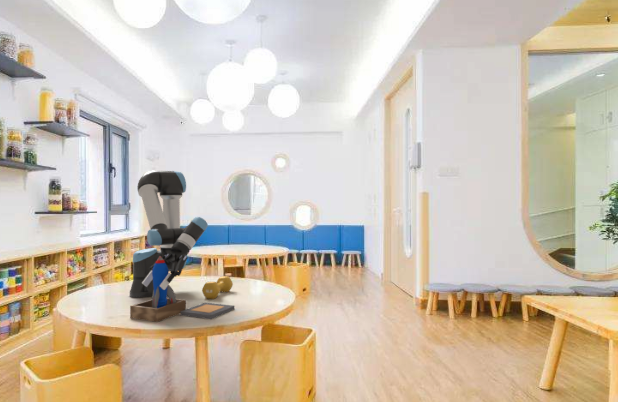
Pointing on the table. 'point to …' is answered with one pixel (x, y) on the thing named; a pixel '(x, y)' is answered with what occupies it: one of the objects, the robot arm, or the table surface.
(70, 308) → the table surface
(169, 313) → the wooden tray
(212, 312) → the pad
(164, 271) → the toy rocket
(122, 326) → the table surface
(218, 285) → the dumbbell
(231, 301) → the table surface
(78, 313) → the table surface
